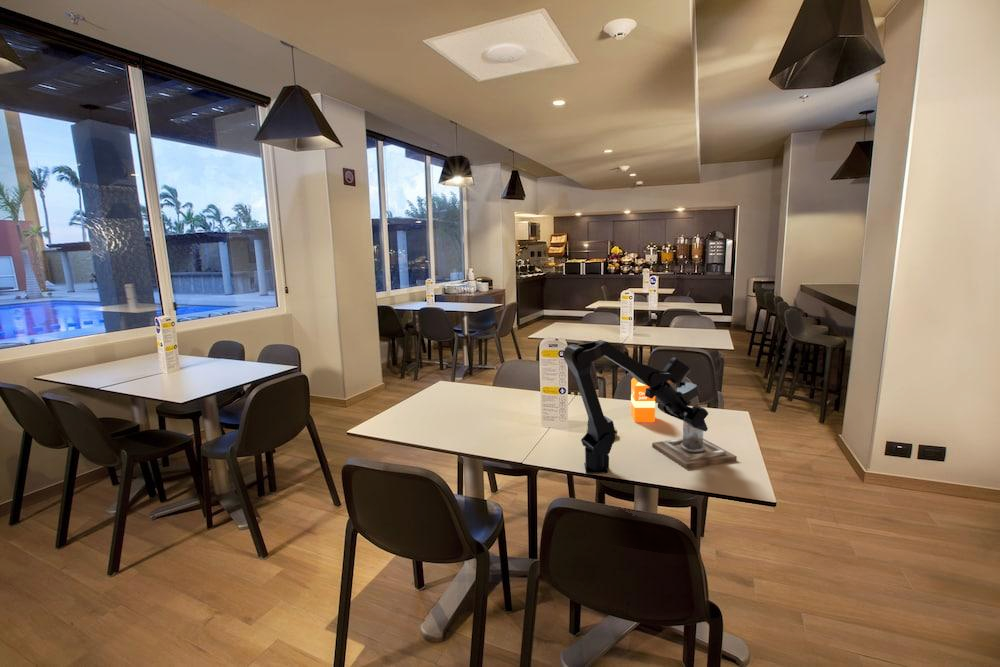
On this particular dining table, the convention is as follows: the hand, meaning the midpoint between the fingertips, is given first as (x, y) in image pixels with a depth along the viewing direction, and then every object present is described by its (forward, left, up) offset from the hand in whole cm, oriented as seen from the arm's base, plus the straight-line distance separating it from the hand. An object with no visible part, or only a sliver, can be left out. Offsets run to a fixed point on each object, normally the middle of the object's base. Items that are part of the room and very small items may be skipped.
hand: (696, 425), depth 153 cm
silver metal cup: (-1, 0, -8) cm, 8 cm away
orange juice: (-10, +34, -10) cm, 36 cm away
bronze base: (-1, 0, -9) cm, 9 cm away
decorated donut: (-28, +16, -10) cm, 34 cm away
